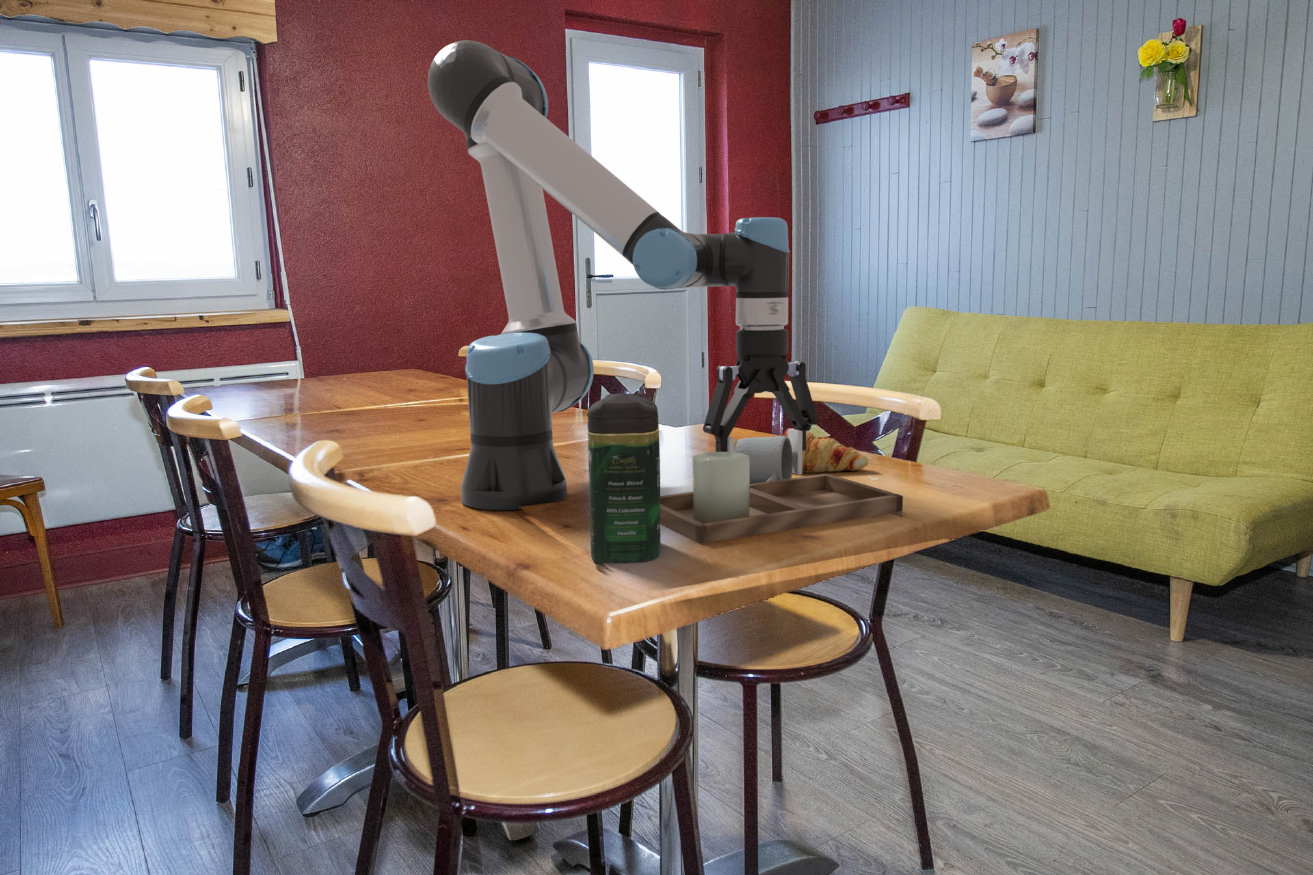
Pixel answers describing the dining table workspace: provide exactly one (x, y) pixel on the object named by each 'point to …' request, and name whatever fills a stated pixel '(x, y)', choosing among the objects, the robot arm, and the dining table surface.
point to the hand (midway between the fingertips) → (761, 477)
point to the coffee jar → (624, 479)
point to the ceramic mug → (767, 457)
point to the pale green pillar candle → (721, 486)
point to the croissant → (829, 455)
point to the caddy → (783, 508)
